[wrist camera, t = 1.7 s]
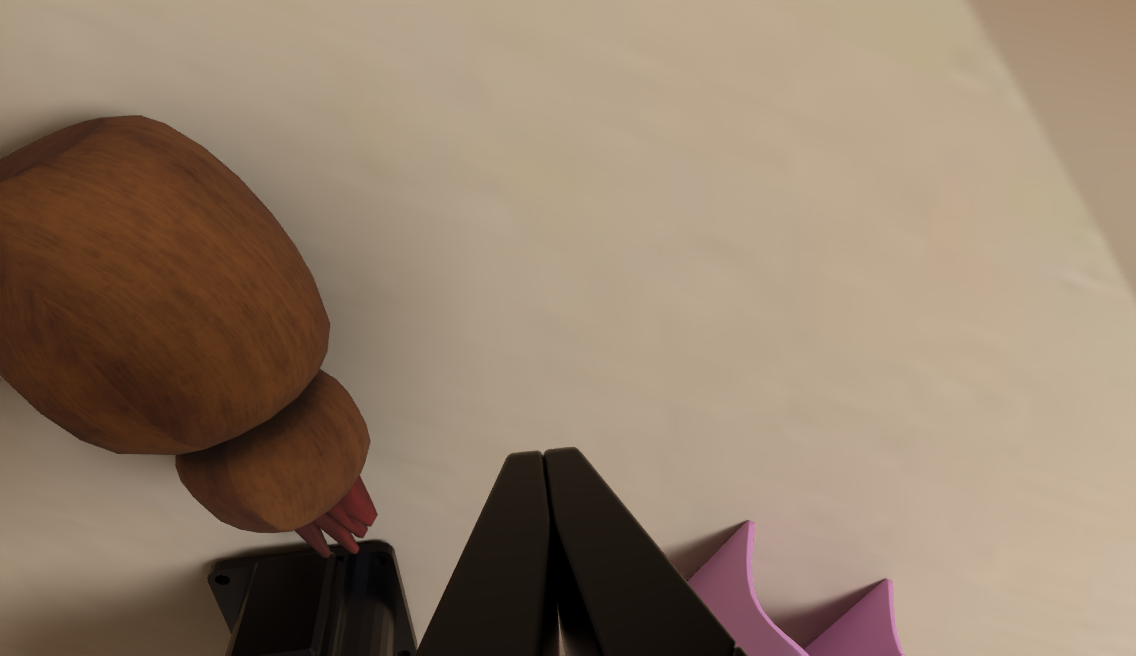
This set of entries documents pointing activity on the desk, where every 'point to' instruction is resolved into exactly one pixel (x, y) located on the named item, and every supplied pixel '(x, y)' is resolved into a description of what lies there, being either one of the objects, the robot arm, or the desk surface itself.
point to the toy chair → (843, 652)
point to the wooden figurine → (177, 326)
